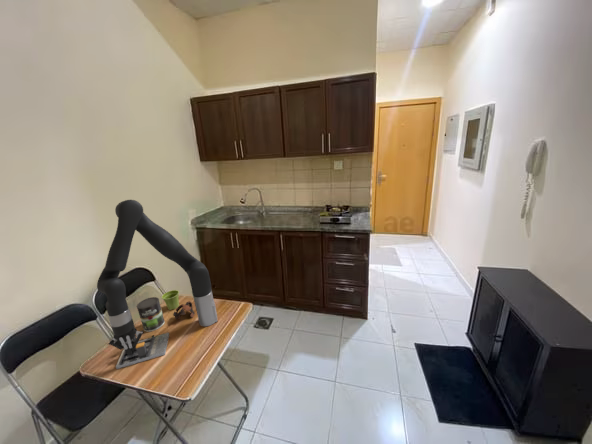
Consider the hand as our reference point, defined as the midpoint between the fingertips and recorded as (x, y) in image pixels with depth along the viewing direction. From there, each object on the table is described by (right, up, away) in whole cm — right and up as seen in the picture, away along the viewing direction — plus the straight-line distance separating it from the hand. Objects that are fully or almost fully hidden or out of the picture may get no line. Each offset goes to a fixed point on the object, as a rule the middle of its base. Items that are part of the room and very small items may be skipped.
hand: (131, 353), depth 109 cm
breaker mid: (-3, -1, +4) cm, 5 cm away
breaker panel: (+2, -2, +6) cm, 7 cm away
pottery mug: (+11, +5, +30) cm, 32 cm away
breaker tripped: (+4, -1, +2) cm, 5 cm away
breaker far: (-5, 0, +8) cm, 9 cm away
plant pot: (-1, +7, +39) cm, 40 cm away
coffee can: (-4, +2, +24) cm, 25 cm away
